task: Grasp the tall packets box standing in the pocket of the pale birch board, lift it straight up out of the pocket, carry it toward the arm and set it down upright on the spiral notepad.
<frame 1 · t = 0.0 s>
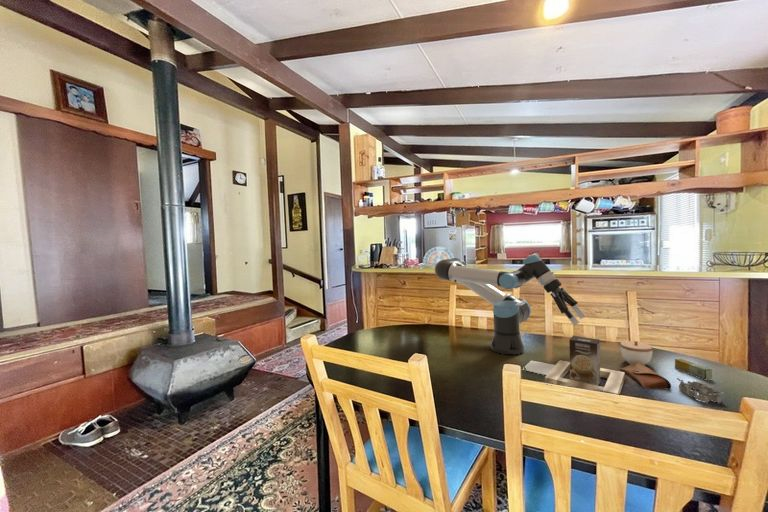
hand: (580, 320, 148), 15 cm above the table, tool tilted 35°, fingers open, 13 cm apart
spiral notepad: (539, 368, 134), on the table
grey flat lump: (699, 396, 106), on the table
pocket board: (585, 381, 120), on the table
medication box: (692, 374, 122), on the table
coffee box: (585, 382, 120), resting in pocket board
sunglasses case: (642, 379, 121), on the table
lidded jar: (636, 363, 134), on the table
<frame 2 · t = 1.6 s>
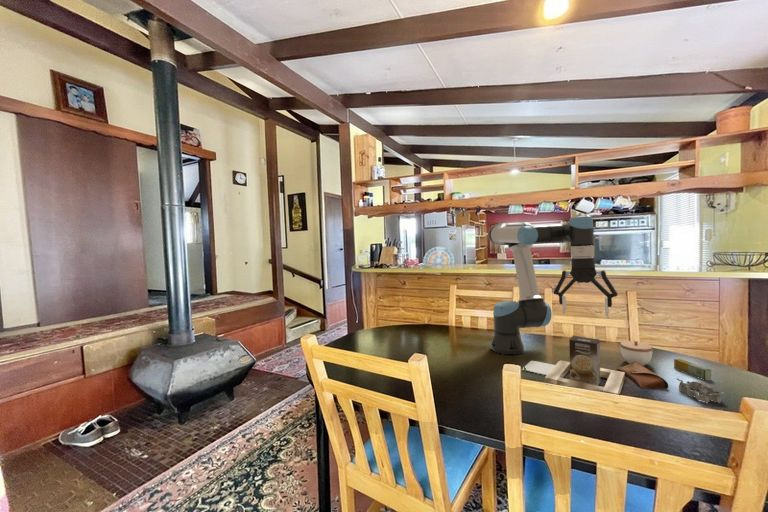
hand: (585, 314, 120), 25 cm above the table, tool pointing down, fingers open, 13 cm apart
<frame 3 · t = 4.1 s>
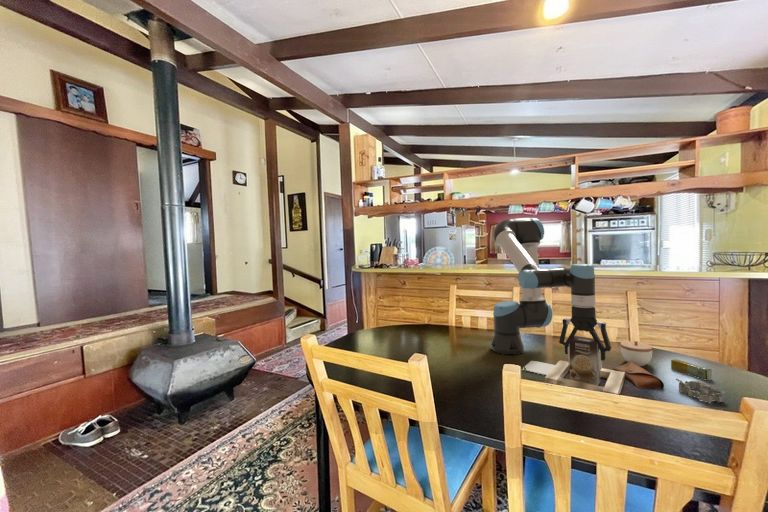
hand: (584, 365, 120), 6 cm above the table, tool pointing down, fingers closed on coffee box, 9 cm apart
coffee box: (585, 381, 120), resting in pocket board, touching gripper
sunglasses case: (635, 379, 121), on the table
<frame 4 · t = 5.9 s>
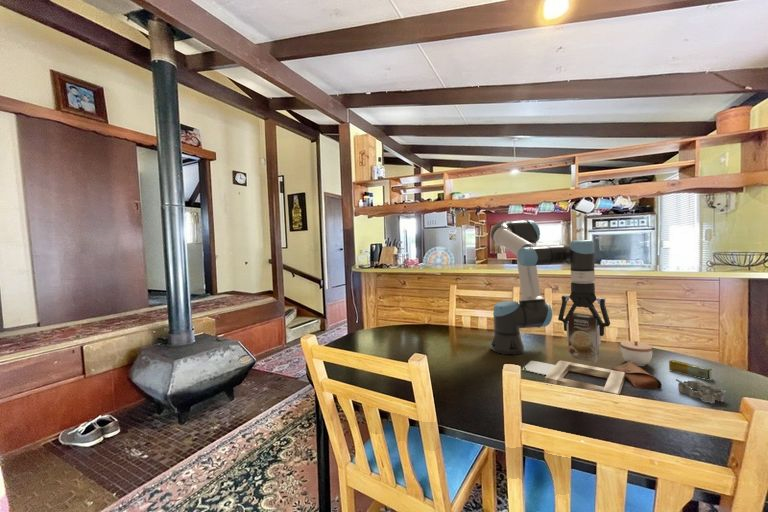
hand: (583, 341, 120), 15 cm above the table, tool pointing down, fingers closed on coffee box, 9 cm apart
coffee box: (583, 358, 120), point 9 cm above the table, touching gripper
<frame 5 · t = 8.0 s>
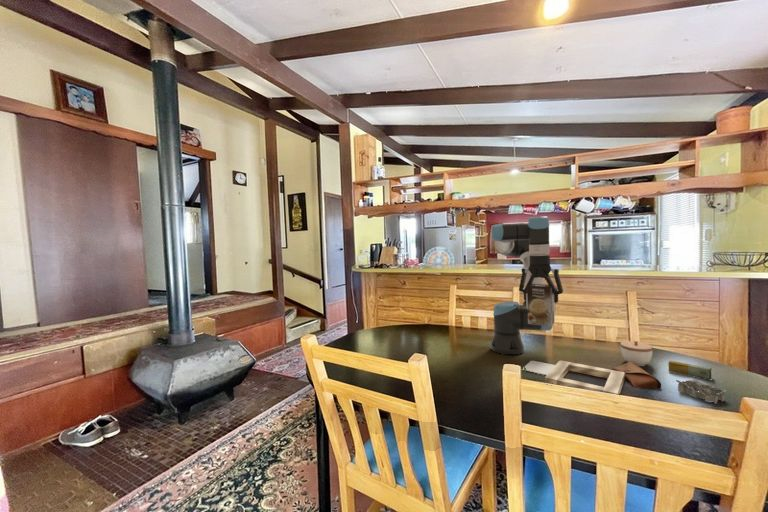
hand: (540, 309, 132), 25 cm above the table, tool pointing down, fingers closed on coffee box, 9 cm apart
coffee box: (541, 324, 133), point 19 cm above the table, touching gripper
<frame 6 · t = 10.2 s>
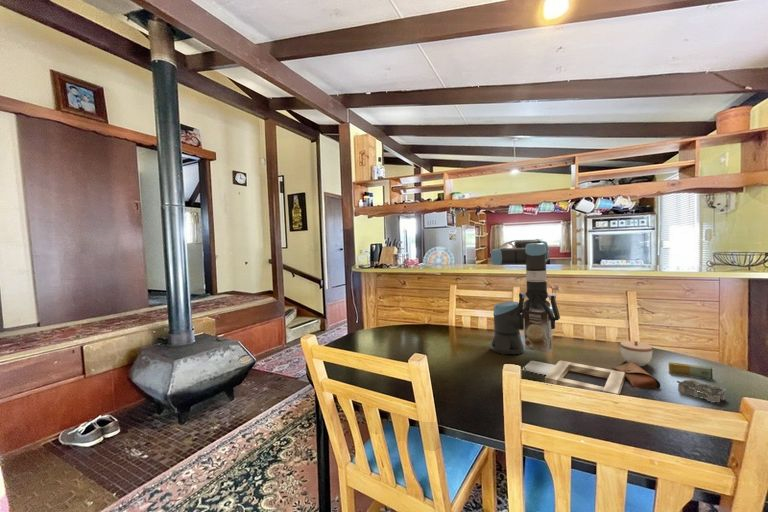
hand: (538, 334, 133), 14 cm above the table, tool pointing down, fingers closed on coffee box, 9 cm apart
coffee box: (538, 349, 133), point 8 cm above the table, touching gripper
when the fingers open (8 cm above the table, at t = 12.0 s): coffee box drops 1 cm, resting on spiral notepad.
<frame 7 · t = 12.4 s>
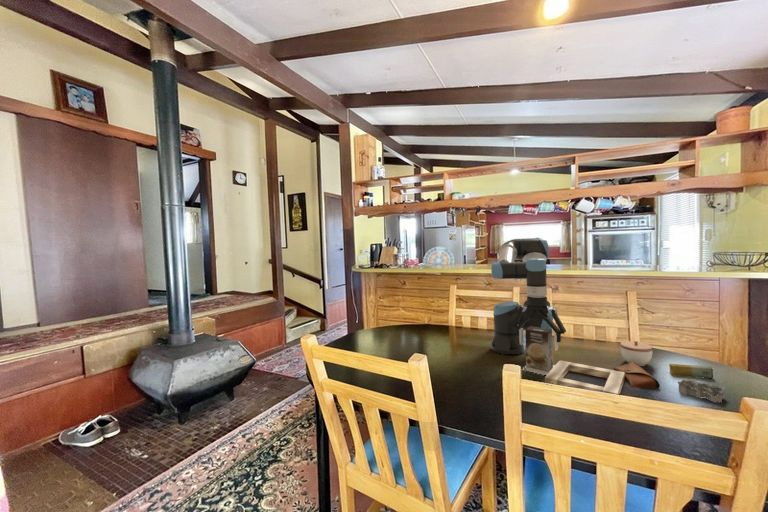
hand: (538, 346, 133), 9 cm above the table, tool pointing down, fingers open, 13 cm apart
coffee box: (539, 367, 134), resting on spiral notepad
sunglasses case: (634, 379, 121), on the table, touching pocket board
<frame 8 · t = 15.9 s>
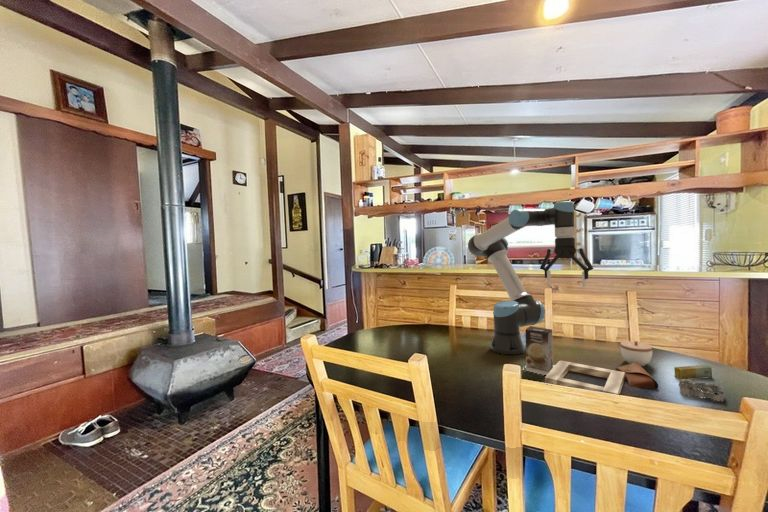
hand: (566, 286, 140), 33 cm above the table, tool pointing down, fingers open, 13 cm apart
sunglasses case: (634, 379, 121), on the table
at the end: coffee box inside the target area on the spiral notepad (0.2 cm from its centre), point 0.4 cm above the spiral notepad's base; coffee box tilted 0°; coffee box touching spiral notepad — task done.
